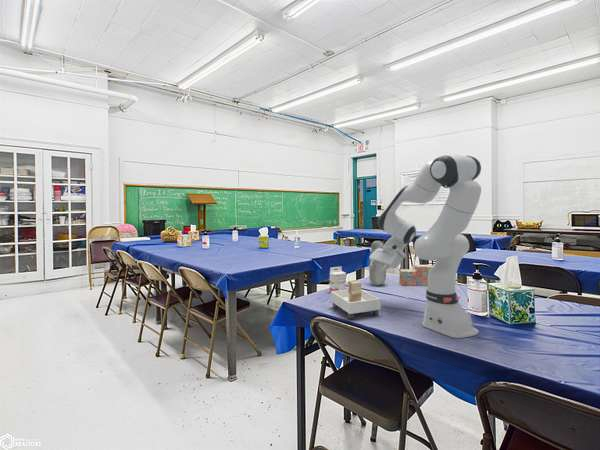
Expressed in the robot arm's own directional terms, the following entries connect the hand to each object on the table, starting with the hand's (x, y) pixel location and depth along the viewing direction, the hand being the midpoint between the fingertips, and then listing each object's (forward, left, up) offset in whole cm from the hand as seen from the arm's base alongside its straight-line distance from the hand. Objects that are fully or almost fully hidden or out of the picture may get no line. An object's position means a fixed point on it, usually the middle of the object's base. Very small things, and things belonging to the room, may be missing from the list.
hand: (375, 270), depth 162 cm
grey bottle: (+37, -25, -19) cm, 49 cm away
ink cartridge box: (+32, +5, -19) cm, 38 cm away
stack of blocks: (+28, -48, -19) cm, 59 cm away
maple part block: (-1, +12, -14) cm, 19 cm away
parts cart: (-1, +12, -19) cm, 22 cm away
